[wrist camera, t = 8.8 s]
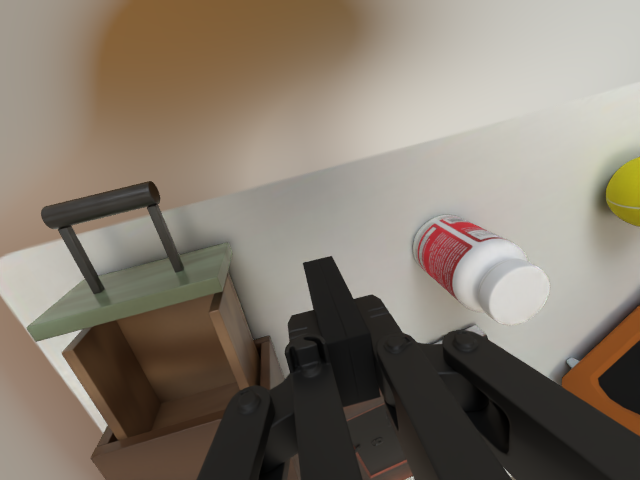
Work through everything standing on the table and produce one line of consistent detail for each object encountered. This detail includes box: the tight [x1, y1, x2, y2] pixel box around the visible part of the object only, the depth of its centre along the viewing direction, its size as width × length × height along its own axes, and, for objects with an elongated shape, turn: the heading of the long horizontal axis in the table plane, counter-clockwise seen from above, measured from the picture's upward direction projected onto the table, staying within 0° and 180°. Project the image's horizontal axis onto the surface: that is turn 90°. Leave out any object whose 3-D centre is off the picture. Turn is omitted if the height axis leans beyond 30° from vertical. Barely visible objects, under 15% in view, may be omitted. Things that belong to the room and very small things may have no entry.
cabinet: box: [91, 336, 301, 480], centre depth 31 cm, size 16×14×9 cm
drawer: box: [27, 181, 261, 441], centre depth 26 cm, size 21×13×7 cm, turn 13°
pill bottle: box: [413, 215, 550, 325], centre depth 27 cm, size 6×6×11 cm
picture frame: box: [343, 325, 488, 480], centre depth 38 cm, size 16×2×22 cm
